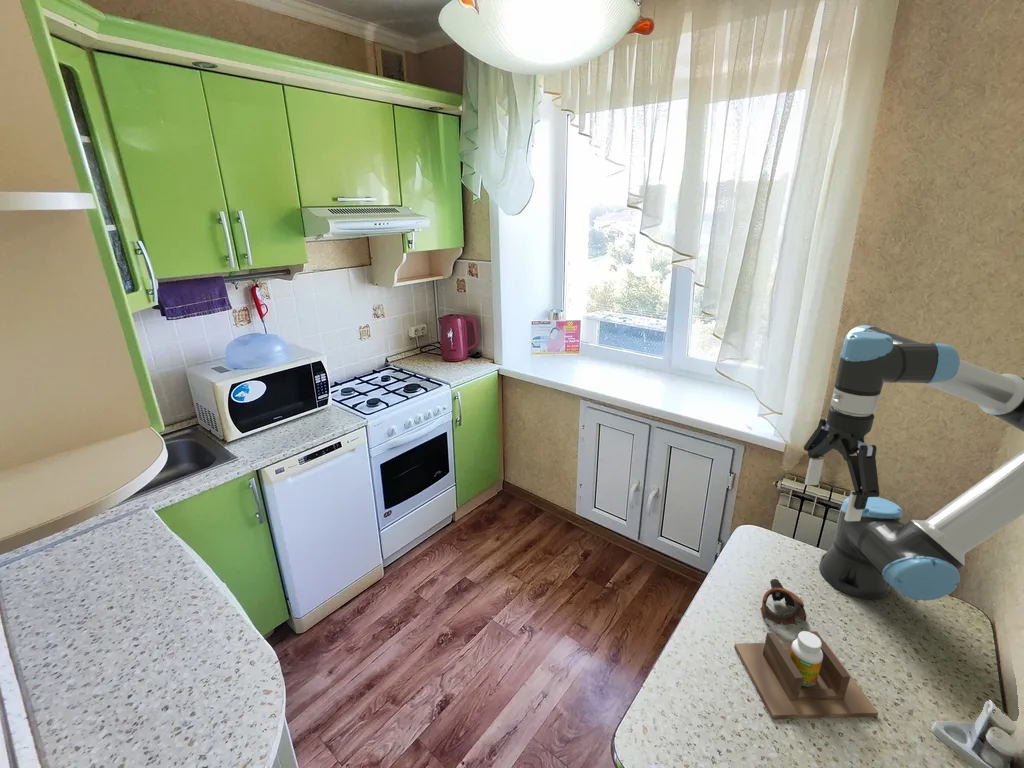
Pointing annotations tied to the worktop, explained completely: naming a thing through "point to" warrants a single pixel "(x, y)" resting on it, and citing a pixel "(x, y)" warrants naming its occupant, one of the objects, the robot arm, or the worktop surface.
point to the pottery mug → (790, 600)
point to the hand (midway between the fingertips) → (830, 501)
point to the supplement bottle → (807, 657)
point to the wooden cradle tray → (784, 683)
